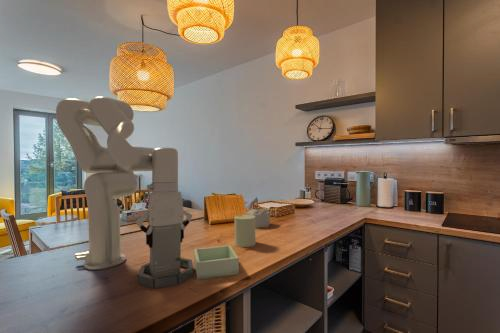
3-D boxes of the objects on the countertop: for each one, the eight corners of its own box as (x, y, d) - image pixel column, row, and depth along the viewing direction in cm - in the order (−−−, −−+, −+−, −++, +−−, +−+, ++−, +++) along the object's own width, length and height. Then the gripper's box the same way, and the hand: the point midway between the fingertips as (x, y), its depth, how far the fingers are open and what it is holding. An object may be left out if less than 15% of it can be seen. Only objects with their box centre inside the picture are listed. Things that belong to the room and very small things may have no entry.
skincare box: (152, 281, 71) (152, 226, 71) (149, 271, 77) (148, 221, 77) (182, 274, 75) (181, 222, 75) (176, 265, 82) (176, 218, 81)
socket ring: (136, 291, 66) (135, 282, 66) (143, 268, 81) (143, 260, 81) (194, 282, 71) (194, 274, 71) (191, 262, 86) (190, 255, 86)
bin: (197, 279, 73) (197, 263, 73) (194, 263, 85) (194, 249, 85) (238, 273, 76) (238, 257, 76) (230, 258, 88) (229, 245, 88)
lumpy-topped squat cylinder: (244, 224, 138) (244, 209, 138) (263, 221, 144) (263, 207, 144) (253, 229, 129) (253, 212, 129) (274, 225, 135) (273, 210, 135)
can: (243, 239, 112) (243, 212, 112) (260, 243, 106) (259, 215, 106) (229, 244, 105) (229, 216, 104) (246, 248, 99) (245, 219, 99)
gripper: (136, 190, 68) (136, 253, 68) (196, 187, 77) (196, 242, 78) (132, 188, 74) (133, 245, 75) (189, 185, 84) (189, 236, 84)
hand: (165, 243), depth 76 cm, fingers closed on skincare box, 8 cm apart
